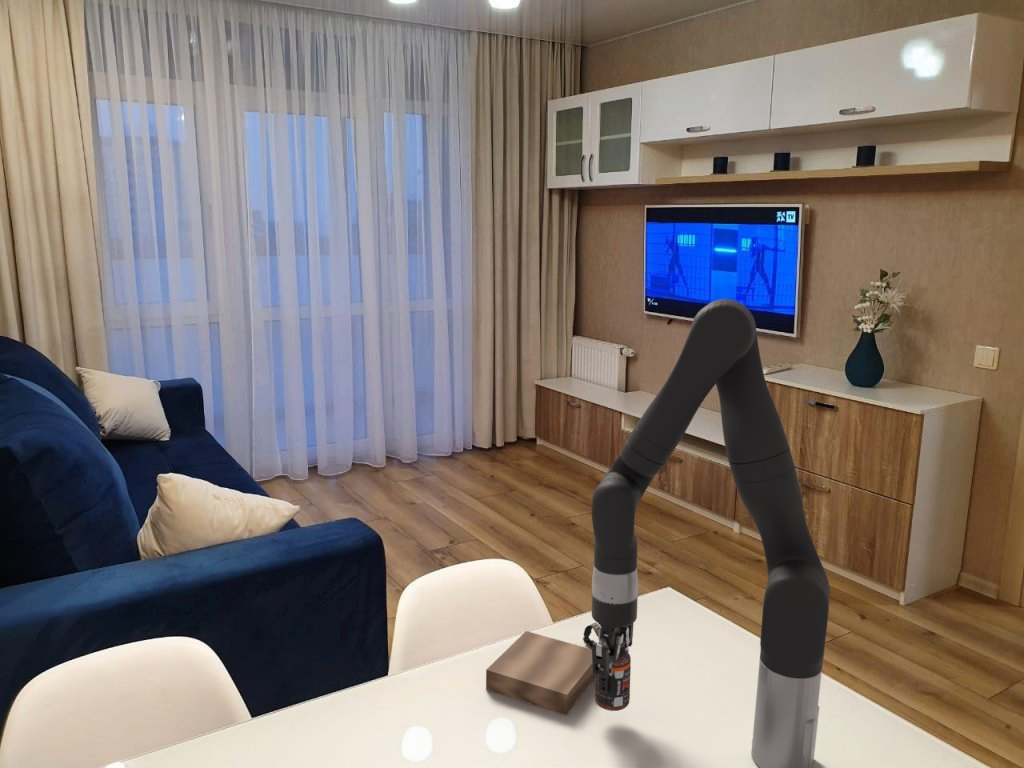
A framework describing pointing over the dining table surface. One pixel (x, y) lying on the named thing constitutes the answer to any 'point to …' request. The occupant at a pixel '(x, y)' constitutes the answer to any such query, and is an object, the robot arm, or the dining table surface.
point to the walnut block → (542, 672)
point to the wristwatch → (588, 632)
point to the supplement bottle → (616, 684)
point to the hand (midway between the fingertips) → (612, 683)
